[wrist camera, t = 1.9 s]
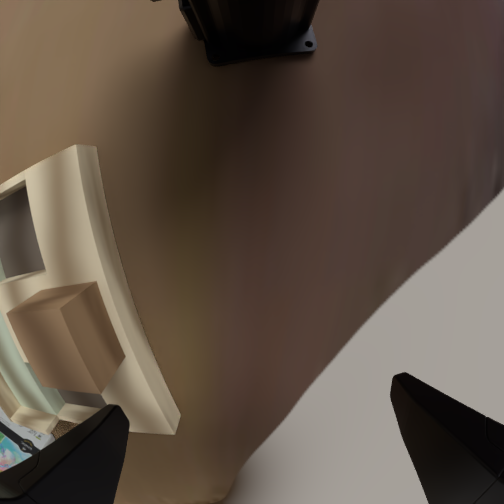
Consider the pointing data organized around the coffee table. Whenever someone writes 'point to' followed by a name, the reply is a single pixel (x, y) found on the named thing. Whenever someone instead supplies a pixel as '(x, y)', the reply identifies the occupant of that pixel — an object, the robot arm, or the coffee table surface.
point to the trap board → (64, 274)
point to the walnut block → (68, 337)
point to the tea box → (19, 442)
